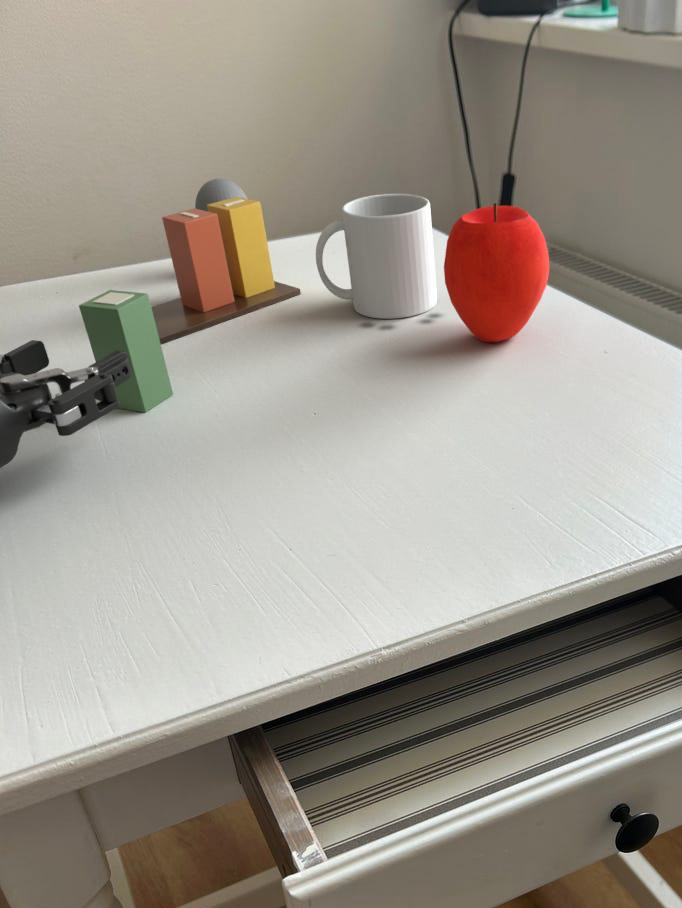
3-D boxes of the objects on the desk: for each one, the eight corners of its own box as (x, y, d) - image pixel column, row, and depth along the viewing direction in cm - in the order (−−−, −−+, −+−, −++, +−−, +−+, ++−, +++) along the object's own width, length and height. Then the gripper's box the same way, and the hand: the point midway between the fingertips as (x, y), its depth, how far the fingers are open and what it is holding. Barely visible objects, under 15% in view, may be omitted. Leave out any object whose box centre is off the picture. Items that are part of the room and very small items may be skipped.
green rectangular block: (108, 407, 86) (78, 303, 80) (137, 389, 89) (109, 288, 83) (145, 412, 85) (117, 308, 79) (173, 394, 88) (147, 292, 82)
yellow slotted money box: (224, 291, 108) (206, 203, 102) (253, 281, 110) (237, 195, 105) (246, 298, 106) (229, 209, 100) (275, 288, 108) (260, 200, 102)
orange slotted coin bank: (182, 305, 105) (161, 216, 99) (212, 294, 107) (194, 207, 102) (203, 312, 103) (183, 221, 97) (234, 302, 105) (216, 212, 99)
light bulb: (244, 259, 119) (227, 170, 113) (269, 269, 116) (253, 178, 109) (200, 270, 116) (180, 180, 110) (224, 281, 113) (205, 188, 106)
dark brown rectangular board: (96, 331, 102) (95, 325, 101) (251, 279, 113) (250, 273, 112) (144, 350, 97) (143, 344, 96) (301, 293, 108) (300, 288, 108)
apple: (550, 355, 91) (549, 217, 83) (444, 358, 91) (434, 221, 84) (549, 317, 99) (548, 187, 91) (452, 320, 99) (443, 191, 92)
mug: (451, 295, 105) (444, 196, 99) (409, 325, 99) (400, 221, 92) (364, 285, 109) (353, 189, 103) (318, 314, 102) (303, 213, 96)
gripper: (-13, 406, 63) (143, 319, 75) (-169, 381, 68) (0, 303, 80) (26, 507, 68) (167, 410, 80) (-123, 477, 73) (31, 390, 84)
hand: (83, 356), depth 80 cm, fingers open, 8 cm apart
